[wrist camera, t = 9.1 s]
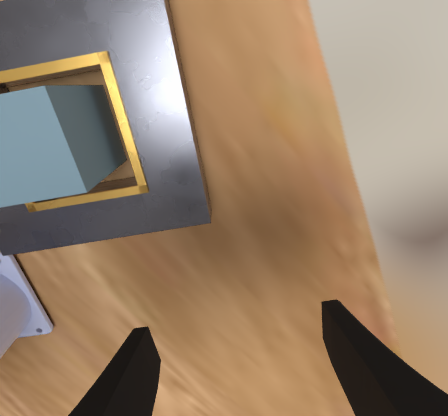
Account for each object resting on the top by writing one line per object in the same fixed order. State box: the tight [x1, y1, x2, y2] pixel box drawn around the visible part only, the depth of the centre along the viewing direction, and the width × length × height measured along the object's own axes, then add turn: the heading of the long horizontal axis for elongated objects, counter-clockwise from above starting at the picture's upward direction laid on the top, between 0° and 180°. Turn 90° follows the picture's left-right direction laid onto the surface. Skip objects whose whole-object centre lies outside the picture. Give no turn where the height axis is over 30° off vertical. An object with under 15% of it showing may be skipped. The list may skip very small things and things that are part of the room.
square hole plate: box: [0, 0, 212, 256], centre depth 16 cm, size 14×13×2 cm
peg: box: [0, 85, 127, 208], centre depth 15 cm, size 4×4×6 cm
